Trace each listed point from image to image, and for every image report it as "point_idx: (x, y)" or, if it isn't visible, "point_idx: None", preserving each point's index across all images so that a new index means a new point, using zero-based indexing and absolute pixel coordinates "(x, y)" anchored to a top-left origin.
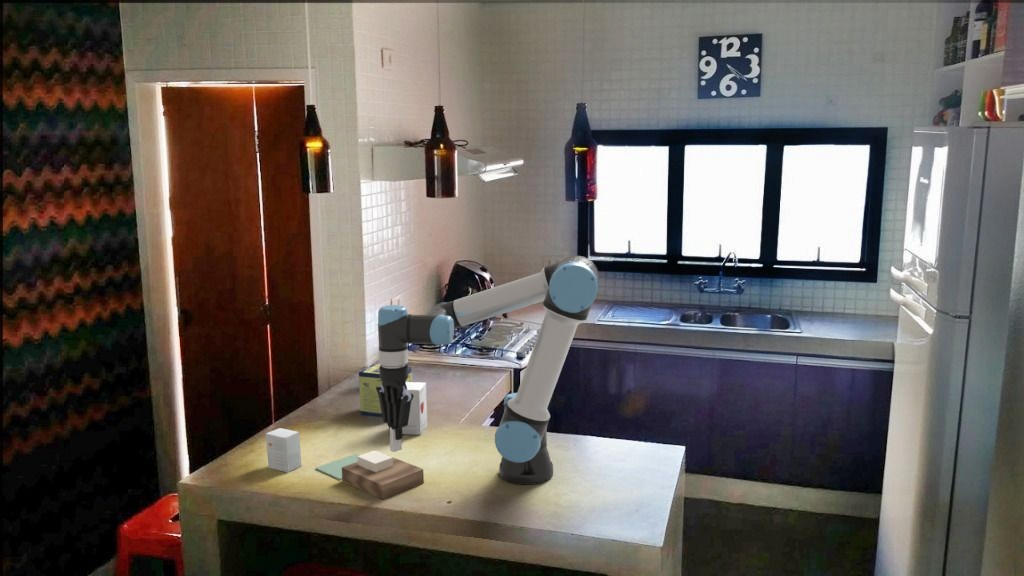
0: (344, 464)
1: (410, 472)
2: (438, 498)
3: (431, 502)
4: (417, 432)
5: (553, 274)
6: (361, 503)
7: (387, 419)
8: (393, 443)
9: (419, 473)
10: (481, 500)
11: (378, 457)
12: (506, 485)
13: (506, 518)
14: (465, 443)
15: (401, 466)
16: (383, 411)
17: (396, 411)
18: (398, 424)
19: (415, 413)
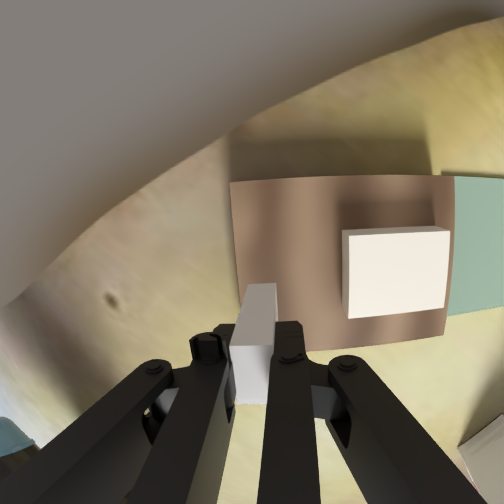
0: (498, 245)
1: None
2: (141, 296)
3: (132, 269)
4: (463, 447)
5: None
6: (260, 120)
7: (304, 380)
8: (244, 301)
9: None
10: (84, 348)
11: (388, 280)
12: None
13: (14, 318)
14: (353, 486)
15: (316, 321)
16: (374, 417)
17: (152, 456)
18: (160, 374)
19: (481, 473)
